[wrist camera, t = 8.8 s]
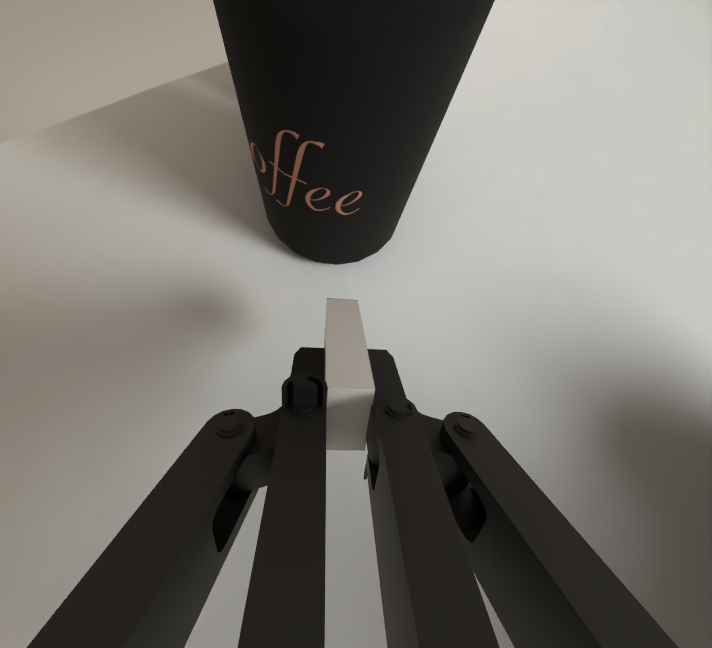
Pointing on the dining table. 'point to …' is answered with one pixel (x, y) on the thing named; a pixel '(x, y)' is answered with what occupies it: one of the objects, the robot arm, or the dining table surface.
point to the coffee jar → (344, 108)
